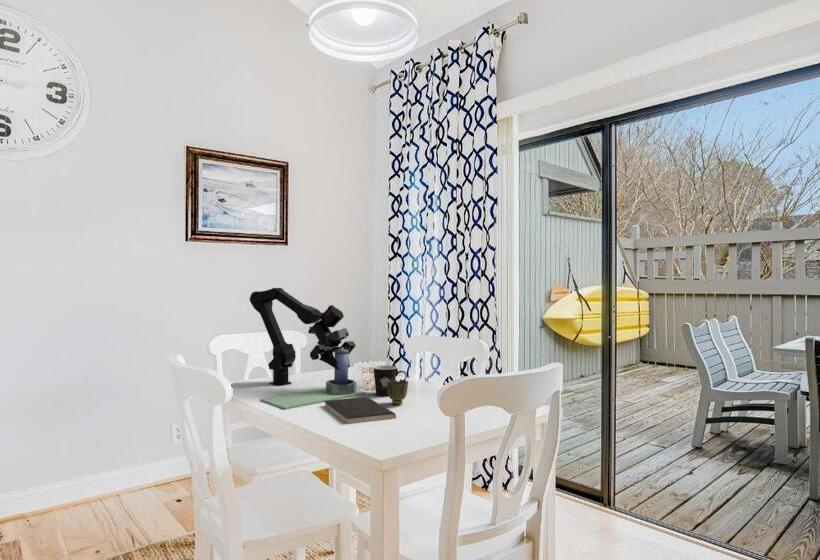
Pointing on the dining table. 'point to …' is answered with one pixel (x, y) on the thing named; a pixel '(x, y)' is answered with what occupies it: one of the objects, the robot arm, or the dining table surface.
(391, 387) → the cup
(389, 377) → the coffee mug
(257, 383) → the dining table surface
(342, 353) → the golf ball sleeve
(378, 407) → the hardcover book
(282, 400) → the putting mat
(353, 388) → the cup
